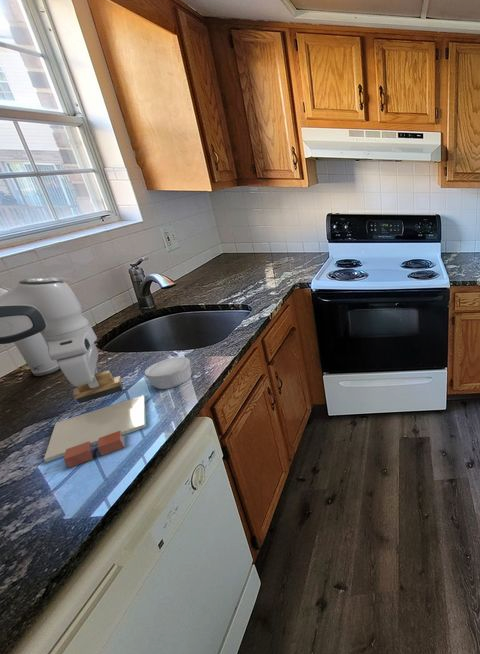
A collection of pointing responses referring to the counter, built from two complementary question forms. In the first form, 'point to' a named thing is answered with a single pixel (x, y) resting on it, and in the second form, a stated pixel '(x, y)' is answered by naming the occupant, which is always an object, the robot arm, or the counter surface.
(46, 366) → the travel mug
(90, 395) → the brush
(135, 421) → the tile
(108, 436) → the terracotta brick
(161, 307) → the counter surface
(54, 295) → the robot arm
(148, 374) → the ramekin
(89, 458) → the reddish brown block
